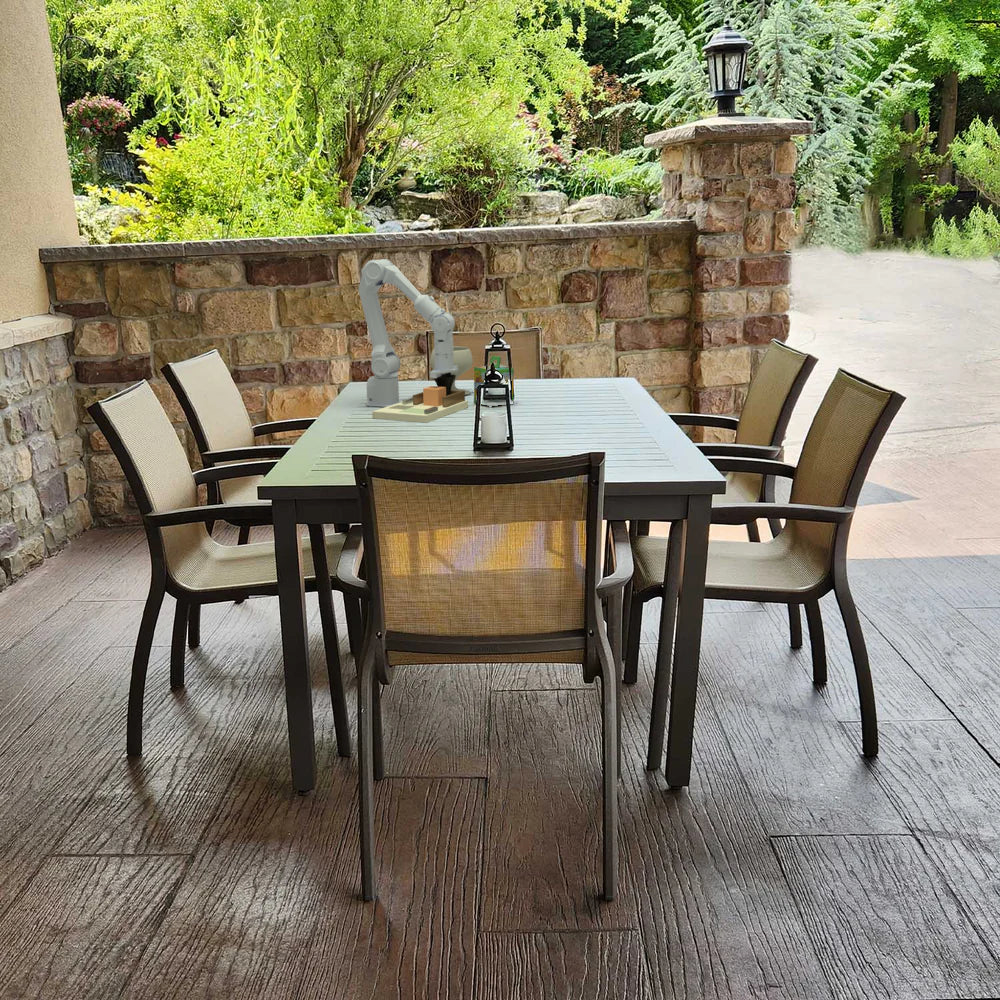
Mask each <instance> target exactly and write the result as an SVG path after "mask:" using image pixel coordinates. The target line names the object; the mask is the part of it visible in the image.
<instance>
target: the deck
mask: <svg viewBox="0 0 1000 1000" xmlns="http://www.w3.org/2000/svg"><path fill="white" fill-rule="evenodd" d="M399 402H400V403H397V404H394V405H391V406H388V407H380V408H378V409H375V410H373V411H371V418H372V419H379V420H389V421H401V422H412V423H413V422H414V423H422V424H423V423H425V424H427V423H429V422H432V421H435V420H437V419H440V418H444V417H446V416H449V415H451V414H455V413H457V412H459V411H462V410H464V409H468V408H469V401H468V400H465V401H463V402H460V403H457V404H454V405H452V406H449V407H446V408H445V407H443V405H441V406H435V407H438V411H436V412H433V413H430V414H424V410H425V409H428V408H431V407H434V406H427V405H424V403H422V404H419V405H413V402H412V403H409V404H406V405H405V404H402V401H399Z"/></svg>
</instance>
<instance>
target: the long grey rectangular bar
mask: <svg viewBox="0 0 1000 1000" xmlns="http://www.w3.org/2000/svg"><path fill="white" fill-rule="evenodd" d="M401 402H402V404H405V405H406V404H409V403H412V402H413V396H411V397H408V398H405V399H402V400H401Z"/></svg>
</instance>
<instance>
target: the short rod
mask: <svg viewBox="0 0 1000 1000" xmlns="http://www.w3.org/2000/svg"><path fill="white" fill-rule="evenodd" d="M436 411H438V407H435V406H434V407H431V408H428V409H425V410H424V414H430V413H433V412H436Z"/></svg>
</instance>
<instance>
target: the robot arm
mask: <svg viewBox="0 0 1000 1000" xmlns="http://www.w3.org/2000/svg"><path fill="white" fill-rule="evenodd" d="M360 272H361V277H360V281H359V285H358V286H359V287H358V294H359V298H360V301H361V306H362V310H363V315H364V318H365V323H366V325H367V329H368V334H369V338H370V341H371V344H372V351H371V353H370V355H371V356H370V357H371V364H370V365H371V366H370V367H371V371H372V373H373V374H374V375H372V376H370V377H369V378H368V379H367V380H366V381H367V383H366V399H367V401H366V404H365V406H367V407H368V406H369V407H380V408H384V407H388V406H391V405H394V404H397V403H400V402H401V401H400V392H399V391H400V390H399V387H400V386H399V373H398V371H399V370H400V368H401V360H400V358H399V356H398V355H397V353H396V351H395V348H394V347H393V345H392V344H391V343H390V340H389V335H388V331H387V327H386V323H385V319H384V315H383V311H382V306H381V303H380V300H379V299H380V298H379V296H378V292H379V290H380V289H381V288H382V286H383V285H384V284H389V285H393V286H395V287H396V288H397V289H398V290H400V292H402V293H403V295H405V296H406V297H407V298H409V300H411V302H413V309H414V310H416V312H417V313H418V314H419V315H420V316H421V317H422V318H423V319H424V320H425V321H426V322H427V323H428V324H430V328H431V330H432V332H433V342H434V343H433V344H434V347H433V349H434V355H435V369H434V370H433V369H432V370H431V371H429V378H430V379H433V380H434V382H435V384H436V386H437V387H446V396H448V395H450V391H451V387H452V384H453V382H454V379H455V378H456V375H452V374H451V373H453V372H458V366H455V365H454V359H453V346H454V337H453V336H454V333H453V332H454V331H453V329H454V328H455V326H456V321H455V318H454V316H453V315H452V313H450V312H446V309H445V308H443V307H441V306H440V305H439V304H437V302H436V301H435V298H434V296H431V295H430V296H429V294H422V293H421V292H420V291H419V290H418V289H417V288H416V286H414V284H412V282H411V281H410V280H409V279H408V278H407V276H405V275H404V274H403V273H402V272H401V270H400V269H399V268H398V266H396V265H395V264H393V262H392V261H390V260H389V259H386V258H380V259H371V260H370V259H369V260H368V261H367V262H366V263H365V265H363V267H362V268H361V271H360Z"/></svg>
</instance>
